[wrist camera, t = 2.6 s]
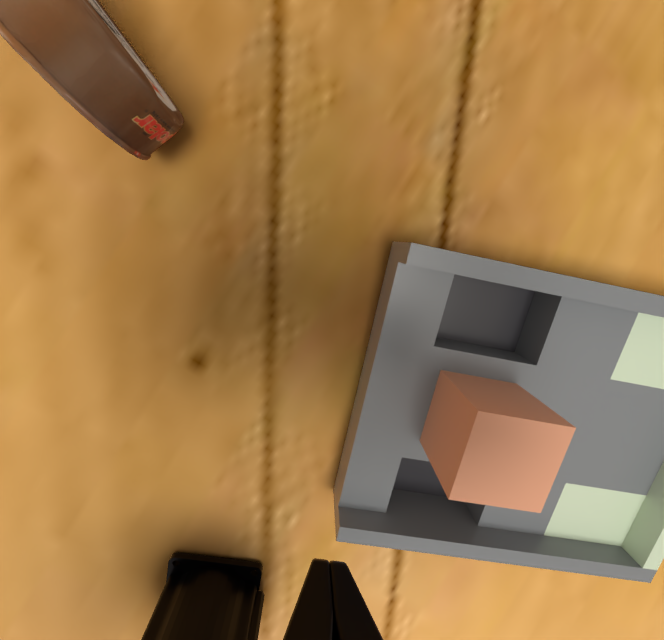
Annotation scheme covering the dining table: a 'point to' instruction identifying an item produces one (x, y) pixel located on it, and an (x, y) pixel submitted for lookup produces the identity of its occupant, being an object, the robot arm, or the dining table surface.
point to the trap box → (536, 378)
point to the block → (493, 442)
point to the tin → (92, 69)
